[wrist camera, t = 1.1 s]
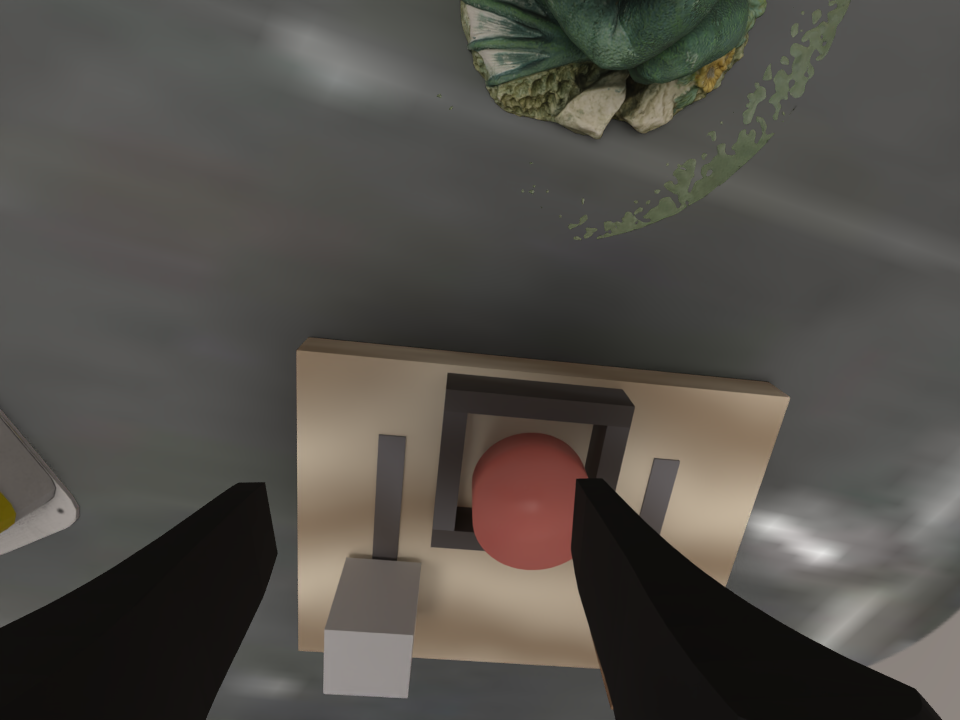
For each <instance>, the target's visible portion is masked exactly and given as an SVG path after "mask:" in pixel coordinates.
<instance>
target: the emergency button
mask: <svg viewBox="0 0 960 720" xmlns="http://www.w3.org/2000/svg"><path fill="white" fill-rule="evenodd" d="M78 518H79V506H78V504H77V502H76V500H75V498H74V496H73V495H72V494H71V493H70V492H69V490H68V489H67V488H66V487H65V486H64V484H63V483H62V482H61V481H60V480H59V478H58V477H57V476H56V475H55V474H54V472H53V471H52V470H51V469H50V468H49V466H48V465H47V464H46V463H45V462H44V460H43V459H42V458H41V457H40V456H39V454H38V453H37V452H36V451H35V450H34V448H33V447H32V446H31V445H30V444H29V442H28V441H27V440H26V439H25V438H24V437H23V435H22V434H21V433H20V432H19V431H18V429H17V428H16V427H15V426H14V425H13V423H12V422H11V421H10V420H9V419H8V417H7V416H6V415H5V414H4V413H3V411H2V410H1V409H0V555H2V554H5V553H7V552H10V551H12V550H14V549H17V548H19V547H22V546H24V545H27V544H29V543H31V542H34V541H36V540H39V539H41V538H43V537H46V536H48V535H51V534H53V533H55V532H58V531H60V530H63V529H65V528H68V527H69V526H71V525H72V524H73V523H74V522H75V521H76V520H77V519H78Z"/></svg>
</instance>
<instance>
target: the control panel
mask: <svg viewBox="0 0 960 720" xmlns="http://www.w3.org/2000/svg"><path fill="white" fill-rule="evenodd" d="M789 400H790V397H789V396H788V395H786V394H785V393H783V392H782V391H780V390H779V389H778V388H776V387H775V386H773V385H772V384H770V383H769V382H763V381H753V380H743V379H732V378H722V377H712V376H702V375H691V374H681V373H671V372H661V371H650V370H640V369H630V368H620V367H609V366H599V365H589V364H578V363H568V362H558V361H548V360H537V359H527V358H517V357H507V356H496V355H486V354H476V353H465V352H455V351H445V350H435V349H424V348H414V347H404V346H394V345H383V344H373V343H363V342H353V341H342V340H332V339H322V338H311V337H308V338H307V339H306V341H305V342H304V343H303V344H302V345H301V346H300V347H299V348H298V349H297V495H298V647H299V651H312V652H324V629H325V626H326V623H327V619H328V616H329V613H330V609H331V606H332V603H333V600H334V596H335V593H336V590H337V587H338V583H339V580H340V577H341V573H342V570H343V567H344V564H345V560H346V557H347V558H361V559H376V560H390V561H404V562H418V563H421V572H420V583H419V594H418V605H417V616H416V626H415V635H414V644H413V653H412V657H413V658H430V659H447V660H464V661H480V662H497V663H514V664H531V665H548V666H564V667H581V668H598V669H600V667H599V663H598V659H597V655H596V652H595V648H594V644H593V641H592V637H591V633H590V628H589V625H588V622H587V618H586V615H585V612H584V609H583V605H582V602H581V599H580V595H579V592H578V588H577V582H576V577H575V572H574V566H573V560H572V559H571V560H569V561H567V562H566V563H563V564H561V565H559V566H555V567H552V568H548V569H543V570H523V569H517V568H513V567H510V566H507V565H504V564H502V563H500V562H498V561H497V560H495V559H494V558H492V557H491V556H490V555H489V554H487V553H486V552H485V550H484V549H483V548H482V547H481V545H480V544H479V542H478V540H477V538H476V536H475V533H474V529H473V520H472V476H473V472H474V469H475V466H476V464H477V462H478V461H479V459H480V458H481V456H482V455H483V454H484V453H485V452H486V451H487V450H488V449H489V448H490V447H491V446H492V445H494V444H495V443H497V442H498V441H500V440H502V439H504V438H506V437H509V436H512V435H516V434H521V433H542V434H547V435H551V436H553V437H556V438H558V439H560V440H562V441H564V442H565V443H567V444H568V445H569V446H570V447H571V448H572V449H573V450H574V451H575V452H576V453H577V455H578V456H579V457H580V459H581V461H582V463H583V466H584V468H585V471H586V473H587V476H588V478H603V479H604V480H605V481H606V482H607V483H608V485H609V486H610V487H611V488H612V489H613V490H614V491H615V492H616V493H617V494H618V495H619V496H620V497H621V498H622V499H623V500H624V501H625V502H626V503H627V504H628V505H629V506H630V507H631V508H632V509H633V510H634V511H635V512H636V513H637V514H638V515H639V516H640V517H641V518H642V519H643V520H644V521H645V522H646V523H647V524H648V525H650V526H651V527H652V528H653V529H654V530H655V531H656V532H657V533H658V534H659V535H660V536H661V537H663V538H664V539H665V540H666V541H667V542H668V543H669V544H670V545H672V546H673V547H674V548H675V549H676V550H678V551H679V552H680V553H681V554H682V555H684V556H685V557H686V558H687V559H688V560H690V561H691V562H692V563H693V564H695V565H696V566H697V567H699V568H700V569H701V570H702V571H704V572H705V573H706V574H708V575H709V576H711V577H712V578H713V579H715V580H716V581H718V582H719V583H720V584H722V585H723V586H725V587H726V584H727V581H728V578H729V575H730V572H731V569H732V566H733V563H734V560H735V558H736V555H737V552H738V549H739V546H740V543H741V540H742V537H743V534H744V531H745V528H746V525H747V523H748V520H749V517H750V514H751V511H752V508H753V505H754V502H755V499H756V496H757V493H758V490H759V488H760V485H761V482H762V479H763V476H764V473H765V470H766V467H767V464H768V461H769V458H770V455H771V453H772V450H773V447H774V444H775V441H776V438H777V435H778V432H779V429H780V426H781V423H782V420H783V418H784V415H785V412H786V409H787V406H788V403H789Z"/></svg>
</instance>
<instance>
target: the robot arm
mask: <svg viewBox="0 0 960 720" xmlns="http://www.w3.org/2000/svg"><path fill="white" fill-rule="evenodd" d="M277 554H278V553H277V548H276V542H275V536H274V531H273V525H272V520H271V514H270V508H269V503H268V497H267V491H266V486H265V482H254V483H237V484H235V485H234V486H232V487H231V488H229V489H228V490H226V491H225V492H223V493H222V494H220V495H219V496H217V497H216V498H214V499H213V500H212V501H210V502H209V503H207V504H206V505H205V506H203V507H202V508H200V509H199V510H198V511H196V512H195V513H193V514H192V515H191V516H189V517H188V518H186V519H185V520H183V521H182V522H181V523H179V524H178V525H176V526H175V527H174V528H172V529H171V530H169V531H168V532H166V533H165V534H164V535H162V536H161V537H159V538H158V539H156V540H155V541H153V542H152V543H150V544H148V545H147V546H145V547H144V548H142V549H141V550H139V551H138V552H136V553H135V554H133V555H132V556H130V557H129V558H127V559H126V560H124V561H122V562H121V563H119V564H118V565H116V566H115V567H113V568H111V569H110V570H108V571H107V572H105V573H103V574H102V575H100V576H98V577H96V578H95V579H93V580H91V581H90V582H88V583H86V584H84V585H83V586H81V587H79V588H77V589H75V590H74V591H72V592H70V593H68V594H66V595H65V596H63V597H61V598H59V599H57V600H55V601H54V602H52V603H50V604H48V605H46V606H44V607H42V608H40V609H38V610H36V611H34V612H32V613H30V614H28V615H26V616H24V617H22V618H20V619H18V620H16V621H13V622H11V623H9V624H7V625H5V626H3V627H1V628H0V720H206V718H207V715H208V713H209V710H210V708H211V706H212V704H213V701H214V699H215V697H216V694H217V692H218V690H219V688H220V686H221V684H222V682H223V680H224V678H225V676H226V674H227V671H228V669H229V667H230V665H231V663H232V661H233V659H234V657H235V655H236V653H237V651H238V649H239V647H240V645H241V643H242V640H243V638H244V636H245V634H246V632H247V630H248V628H249V626H250V624H251V622H252V620H253V617H254V615H255V613H256V611H257V609H258V607H259V605H260V603H261V600H262V598H263V596H264V593H265V591H266V588H267V585H268V582H269V579H270V576H271V573H272V570H273V566H274V563H275V560H276V557H277ZM571 554H572V560H573V566H574V572H575V577H576V582H577V588H578V592H579V595H580V599H581V602H582V605H583V609H584V612H585V615H586V618H587V622H588V625H589V628H590V632H591V635H592V638H593V641H594V644H595V648H596V651H597V654H598V657H599V661H600V664H601V667H602V670H603V674H604V677H605V680H606V683H607V687H608V690H609V694H610V698H611V702H612V705H613V710H614V714H615V719H616V720H942V719H941V718H940V717H939V716H938V714H937V713H936V712H935V711H934V709H933V708H932V707H931V706H930V705H929V704H928V702H927V701H926V700H925V699H924V698H923V697H922V696H921V695H920V694H919V692H918V691H917V690H916V689H915V688H912V687H910V686H908V685H906V684H903V683H901V682H899V681H897V680H895V679H893V678H890V677H888V676H886V675H884V674H882V673H879V672H877V671H875V670H873V669H871V668H868V667H866V666H864V665H862V664H860V663H857V662H855V661H853V660H851V659H849V658H846V657H844V656H842V655H840V654H838V653H836V652H835V651H833V650H831V649H829V648H827V647H825V646H823V645H821V644H819V643H817V642H815V641H813V640H812V639H810V638H808V637H806V636H804V635H802V634H800V633H799V632H797V631H795V630H793V629H791V628H790V627H788V626H786V625H784V624H783V623H781V622H779V621H777V620H776V619H774V618H773V617H771V616H769V615H768V614H766V613H764V612H763V611H761V610H760V609H758V608H756V607H755V606H753V605H751V604H750V603H748V602H747V601H745V600H744V599H742V598H741V597H739V596H738V595H736V594H734V593H733V592H732V591H730V590H729V589H727V588H726V587H725V586H723V585H722V584H720V583H719V582H718V581H716V580H715V579H713V578H712V577H711V576H709V575H708V574H706V573H705V572H704V571H702V570H701V569H700V568H699V567H697V566H696V565H695V564H693V563H692V562H691V561H690V560H688V559H687V558H686V557H685V556H684V555H682V554H681V553H680V552H679V551H678V550H676V549H675V548H674V547H673V546H672V545H670V544H669V543H668V542H667V541H666V540H665V539H664V538H663V537H661V536H660V535H659V534H658V533H657V532H656V531H655V530H654V529H653V528H652V527H651V526H650V525H648V524H647V523H646V522H645V521H644V520H643V519H642V518H641V517H640V516H639V515H638V514H637V513H636V512H635V511H634V510H633V509H632V508H631V507H630V506H629V505H628V504H627V503H626V502H625V501H624V500H623V499H622V498H621V497H620V496H619V495H618V494H617V493H616V492H615V491H614V490H613V489H612V488H611V487H610V486H609V485H608V483H607V482H606V481H605V480H604V479H603V478H580V479H576V487H575V499H574V512H573V525H572V538H571Z"/></svg>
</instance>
